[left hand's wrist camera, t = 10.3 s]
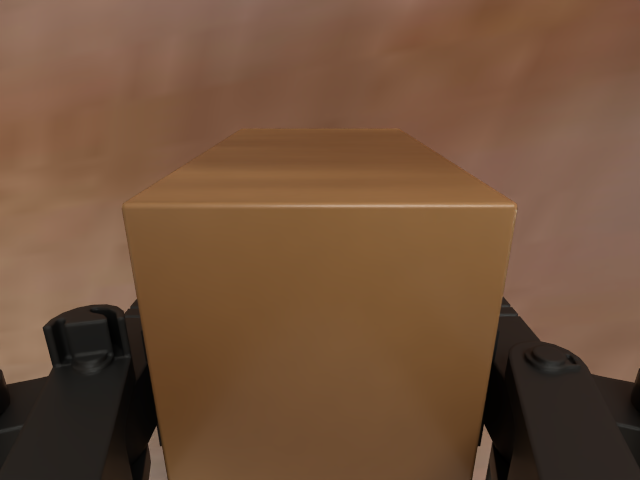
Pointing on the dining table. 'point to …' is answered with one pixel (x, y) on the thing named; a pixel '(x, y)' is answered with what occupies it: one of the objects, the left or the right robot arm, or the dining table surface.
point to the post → (319, 306)
